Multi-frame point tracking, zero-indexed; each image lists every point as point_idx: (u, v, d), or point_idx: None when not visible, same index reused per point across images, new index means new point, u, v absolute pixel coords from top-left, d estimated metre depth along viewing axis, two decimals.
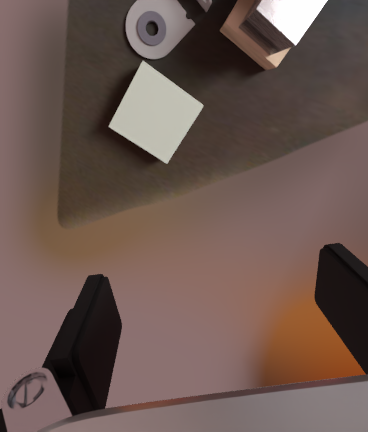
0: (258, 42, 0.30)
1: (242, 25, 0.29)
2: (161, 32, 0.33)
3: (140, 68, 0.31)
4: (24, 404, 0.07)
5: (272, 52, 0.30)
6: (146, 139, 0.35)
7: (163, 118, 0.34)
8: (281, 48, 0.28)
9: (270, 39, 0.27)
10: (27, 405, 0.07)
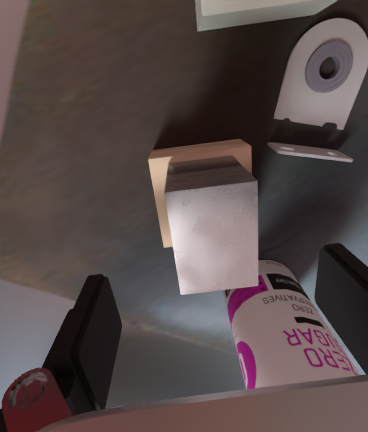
0: (195, 161, 0.20)
1: (233, 159, 0.19)
2: (314, 73, 0.21)
3: None
4: (24, 404, 0.07)
5: (171, 166, 0.19)
6: None
7: None
8: (170, 177, 0.16)
9: (193, 173, 0.17)
10: (27, 405, 0.07)
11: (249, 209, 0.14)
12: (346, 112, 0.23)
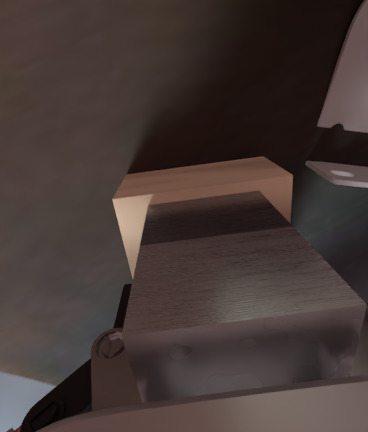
0: (196, 203, 0.11)
1: (265, 202, 0.10)
2: None
3: None
4: (107, 356, 0.07)
5: (152, 216, 0.10)
6: None
7: None
8: (146, 255, 0.08)
9: (194, 245, 0.08)
10: (109, 357, 0.08)
11: (334, 359, 0.06)
12: None
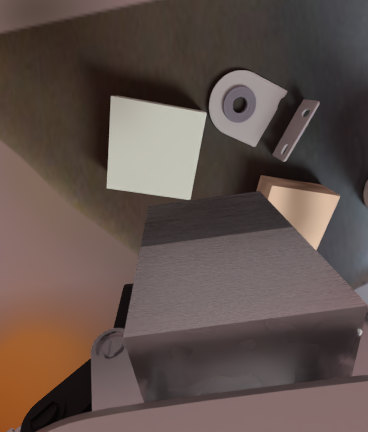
0: (196, 204, 0.11)
1: (266, 203, 0.10)
2: (239, 117, 0.28)
3: (197, 113, 0.25)
4: (107, 356, 0.07)
5: (152, 217, 0.10)
6: (122, 152, 0.26)
7: (156, 162, 0.27)
8: (147, 256, 0.08)
9: (195, 246, 0.08)
10: (109, 357, 0.08)
11: (336, 359, 0.06)
12: (276, 88, 0.28)
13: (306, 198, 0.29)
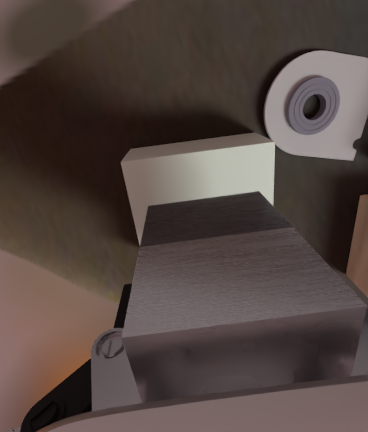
0: (196, 204, 0.11)
1: (265, 203, 0.10)
2: (316, 125, 0.18)
3: (259, 147, 0.15)
4: (107, 356, 0.07)
5: (152, 217, 0.10)
6: None
7: None
8: (146, 256, 0.08)
9: (194, 246, 0.08)
10: (109, 357, 0.08)
11: (334, 360, 0.06)
12: None
13: None
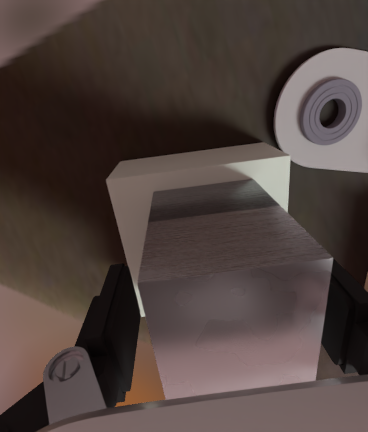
0: (196, 189, 0.12)
1: (258, 188, 0.12)
2: (334, 134, 0.16)
3: (272, 161, 0.13)
4: (62, 378, 0.07)
5: (157, 200, 0.12)
6: None
7: None
8: (154, 229, 0.09)
9: (195, 221, 0.09)
10: (65, 379, 0.07)
11: (309, 307, 0.07)
12: None
13: None
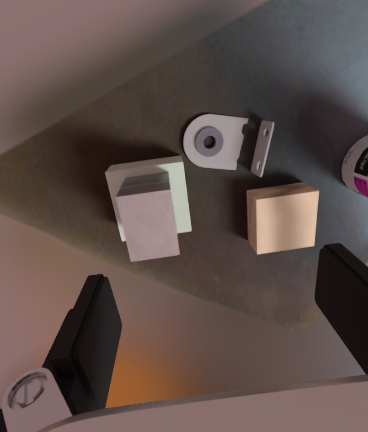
0: (143, 176, 0.30)
1: (167, 174, 0.29)
2: (212, 151, 0.33)
3: (175, 164, 0.30)
4: (24, 404, 0.07)
5: (126, 180, 0.29)
6: None
7: None
8: (122, 187, 0.26)
9: (137, 184, 0.26)
10: (28, 405, 0.07)
11: (167, 206, 0.24)
12: (236, 119, 0.32)
13: (289, 201, 0.33)
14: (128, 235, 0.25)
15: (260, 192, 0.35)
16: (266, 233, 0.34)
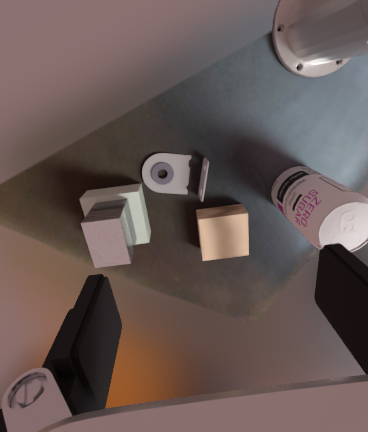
0: (108, 202, 0.39)
1: (125, 202, 0.38)
2: (165, 180, 0.42)
3: (132, 193, 0.39)
4: (24, 404, 0.07)
5: (94, 205, 0.38)
6: None
7: None
8: (89, 213, 0.36)
9: (100, 211, 0.36)
10: (28, 405, 0.07)
11: (118, 229, 0.34)
12: (183, 156, 0.41)
13: (225, 220, 0.42)
14: (91, 249, 0.35)
15: (205, 212, 0.44)
16: (209, 244, 0.44)
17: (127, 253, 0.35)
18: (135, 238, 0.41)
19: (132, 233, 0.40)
